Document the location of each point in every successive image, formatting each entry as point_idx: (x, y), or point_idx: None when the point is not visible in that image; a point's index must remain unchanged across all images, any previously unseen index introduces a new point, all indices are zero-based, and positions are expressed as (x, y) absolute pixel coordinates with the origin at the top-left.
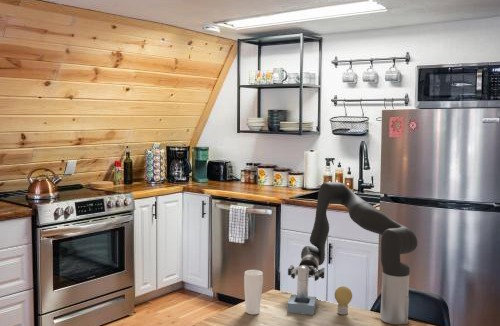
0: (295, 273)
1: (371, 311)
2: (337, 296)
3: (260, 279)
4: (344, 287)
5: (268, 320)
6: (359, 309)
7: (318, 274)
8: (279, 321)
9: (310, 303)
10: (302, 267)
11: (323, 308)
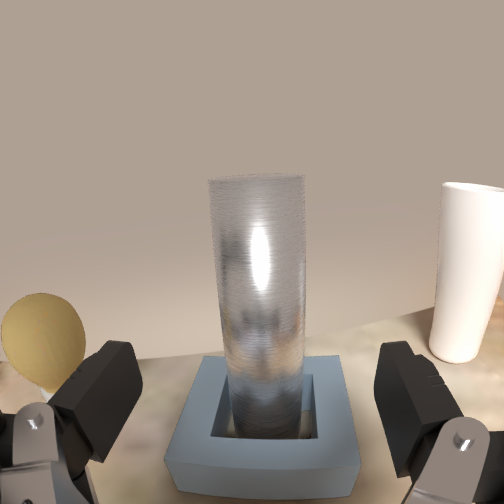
0: (408, 452)
1: None
2: (81, 322)
3: (440, 206)
4: (30, 296)
5: (372, 327)
6: None
7: (60, 395)
8: (336, 331)
9: (217, 375)
10: (263, 175)
11: (141, 464)
